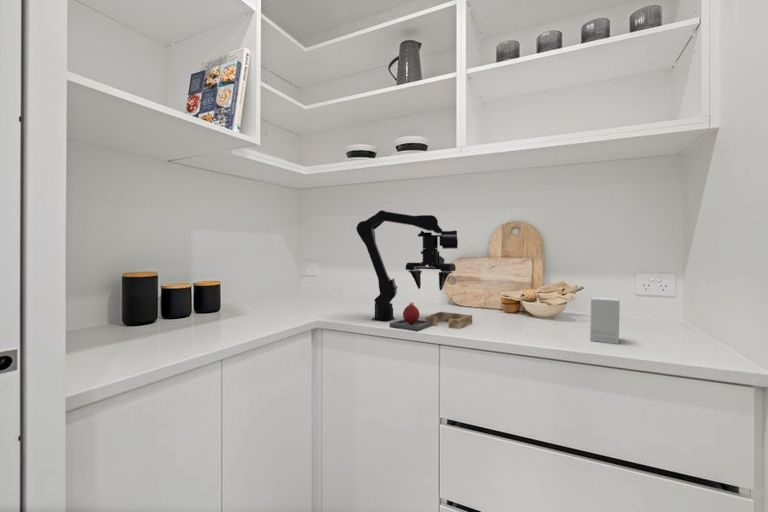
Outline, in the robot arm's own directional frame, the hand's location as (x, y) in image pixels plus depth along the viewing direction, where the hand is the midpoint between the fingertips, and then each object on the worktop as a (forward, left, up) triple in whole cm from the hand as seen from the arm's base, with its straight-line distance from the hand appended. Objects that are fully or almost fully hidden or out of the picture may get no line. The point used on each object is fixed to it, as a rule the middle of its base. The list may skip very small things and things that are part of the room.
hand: (429, 289), depth 139 cm
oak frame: (+9, -1, -12) cm, 15 cm away
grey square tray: (0, -13, -12) cm, 18 cm away
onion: (-1, -13, -12) cm, 18 cm away
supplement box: (+57, +4, -12) cm, 58 cm away
